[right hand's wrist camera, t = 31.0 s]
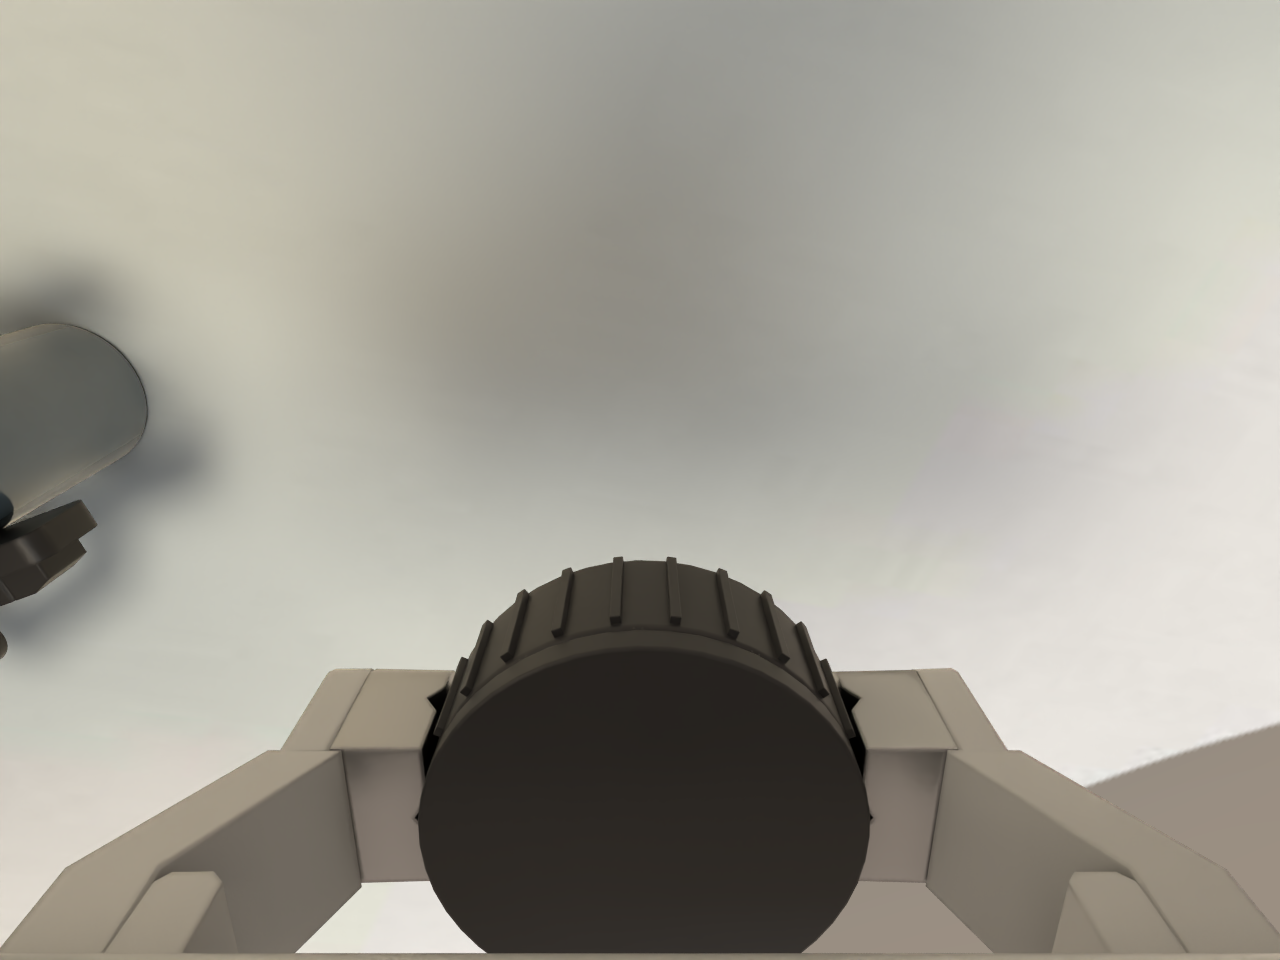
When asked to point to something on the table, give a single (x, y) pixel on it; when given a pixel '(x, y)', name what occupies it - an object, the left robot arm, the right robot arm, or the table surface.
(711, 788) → the lid
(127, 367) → the blue-grey bottle
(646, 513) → the table surface
